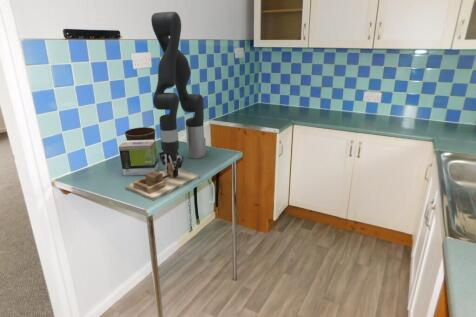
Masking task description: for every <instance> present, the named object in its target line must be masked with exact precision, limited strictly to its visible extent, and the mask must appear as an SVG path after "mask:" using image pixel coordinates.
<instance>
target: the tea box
mask: <svg viewBox="0 0 476 317" xmlns="http://www.w3.org/2000/svg"><path fill="white" fill-rule="evenodd" d="M118 150H119V156H120V164H121V169H122V174H123V175H122V176H146V174H148V173H151V172H153V171H157V172H158V170H159V157H158V155H159V154H158V149H157V140H156V139H155V140H127V139H126V140H124V141H123V142H122V143H121V144H120V145H119V146H118Z"/></svg>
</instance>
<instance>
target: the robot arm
mask: <svg viewBox="0 0 476 317" xmlns="http://www.w3.org/2000/svg"><path fill="white" fill-rule="evenodd" d="M151 27H152V31H153V32H154V35H155V37H156V39H157V41H158V43H159V46H160V47H161V50H162V52H163V54H162V57H160V58H161V59H160V60H159V63H158V68H157V69H158V70H157V71H158V72H157V85H156V88H155V91H154V94H153V98H152V104H153V106H154V107H155V108H154V109H156V110H163V111H164V110H165V111H169V113H167V114H163V115H161V116H160V117H159V129H160V130H159V131H160V133H159V134H160V136H159V137H160V144H161V145H160V146H161V150H162V151H161V152H159V153H158V155H159V158H160V160H161V162H162V165H163V166H165V168H166V169H167V174H169V172H168V162H170V163H171V165H172V168H173V177H176V176H178V168H179V169H182V165H183V162H184V156H181V155H180V154H179V149H180V143H179V142H180V140H179V132H178V126H177V118H178V117H177V116H178V110H179V106H180V107H181V109H182V111H183V112H185V113H194V116H192V117H189V118H187V119H186V120H185V133H186V147H187V157H188V158H190V159H195V160H196V159H201V158H204V157H205V156H206V155H207V144H206V142H207V141H206V137H205V130H204V129H205V127H204V118H205V116H204V114H205V111H204V110H205V108H204V106H205V104H204V97H203V96H202V94H197V93H189V92H188V90H187V86H188V83H189V81H190V78H191V74H192V70H191V68H190V67H191V66H190V63H189V60H188V58H187V57H186V55H185V54H184V53H183V52H182V51H181V50H179V47H180V40H181V32H182V20H181V16H180V15H179V14H178V12H176V11H162V12H154V13H153V14H152V15H151ZM174 87H175V88H176V91H177V93H175V92H165V91H166V90H167V89H170V88H174Z"/></svg>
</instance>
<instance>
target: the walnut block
mask: <svg viewBox="0 0 476 317" xmlns="http://www.w3.org/2000/svg"><path fill="white" fill-rule="evenodd" d="M160 172H161V171H158V170H157V171H153V172H151V173H148V174H146V175H145V177H146V183H147V185H148V186H152V185H155V184H157V183H159V182H161V181H163V179H165V178H167V177H169V178H175V177H173V168H172V165H171V163H170V162H168V172H169V174H168V175H166V176H164V177H163V173H160Z"/></svg>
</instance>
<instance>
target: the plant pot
mask: <svg viewBox="0 0 476 317" xmlns="http://www.w3.org/2000/svg"><path fill="white" fill-rule="evenodd" d="M124 136H125V139H126V141H127V140H156V129H155V128H153V127H147V126H143V127H133V128H130V129H127V130H126V131H125V132H124Z"/></svg>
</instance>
